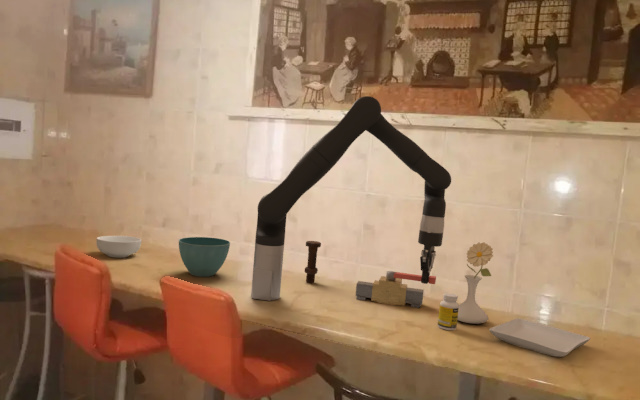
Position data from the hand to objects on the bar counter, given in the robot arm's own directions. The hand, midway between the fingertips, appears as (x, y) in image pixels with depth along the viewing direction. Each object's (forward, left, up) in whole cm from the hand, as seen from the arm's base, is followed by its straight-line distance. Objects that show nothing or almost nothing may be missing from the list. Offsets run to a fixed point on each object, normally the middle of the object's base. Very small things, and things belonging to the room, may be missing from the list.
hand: (424, 283), depth 181 cm
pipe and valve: (+3, +11, -9) cm, 14 cm away
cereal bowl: (+16, +120, -9) cm, 122 cm away
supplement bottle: (-18, -8, -9) cm, 21 cm away
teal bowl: (+5, +79, -9) cm, 80 cm away
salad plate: (-20, -33, -9) cm, 39 cm away
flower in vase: (-8, -15, -9) cm, 19 cm away
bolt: (+15, +41, -9) cm, 45 cm away
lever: (+3, +5, -1) cm, 6 cm away
